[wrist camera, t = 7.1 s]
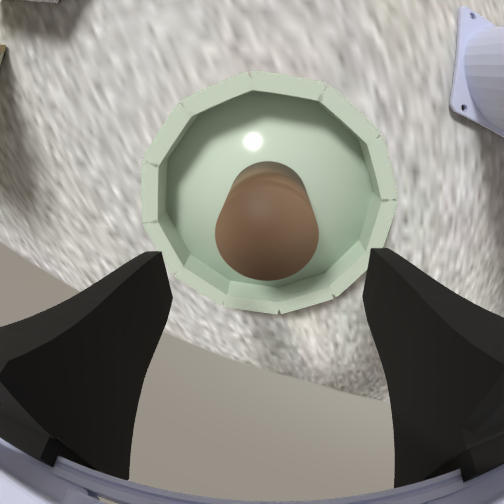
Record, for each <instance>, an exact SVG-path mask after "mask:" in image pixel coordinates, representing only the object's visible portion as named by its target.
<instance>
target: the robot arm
mask: <svg viewBox="0 0 504 504" xmlns="http://www.w3.org/2000/svg"><path fill="white" fill-rule="evenodd" d="M470 14H471V16H472V18H473V19H472V18H471V16H470ZM462 105H463V106H464V110H463V111H462V109H461V106H462ZM450 108H451V109H452V111H454V112H455V113H458V114H460V115H462V116H464V117H466V118H468V119H470V120H472V121H474V122H476V123H478V124H480V125H481V126H483V127H485V128H487V129H489V130H491V131H492V132H494V133H496V134H498V135H499V136H501V137H503V138H504V26H500V27H497V26H495V25H494V24H492V23H491V22H490V21H488V20H487V19H485V18H484V17H482V16H481V15H479V14H477V13H476V12H474V11H473V10H471V9H469V8H468V7H466V6H461V7H459V9H458V35H457V49H456V60H455V69H454V77H453V84H452V91H451V97H450ZM362 297H363V302H364V307H365V312H366V317H367V321H368V324H369V327H370V330H371V333H372V336H373V339H374V342H375V344H376V347H377V350H378V353H379V356H380V359H381V363H382V366H383V369H384V372H385V376H386V380H387V385H388V391H389V397H390V403H391V411H392V419H393V428H394V447H395V478H394V489H390V490H385V491H380V492H375V493H370V494H363V495H357V496H351V497H343V498H335V499H324V500H311V501H289V502H287V501H285V502H266V501H265V502H264V501H241V500H229V499H219V498H210V497H202V496H196V495H189V494H183V493H178V492H172V491H167V490H163V489H158V488H153V487H149V486H145V485H141V484H137V483H134V482H130V481H127V480H128V479H129V467H130V453H131V444H132V436H133V428H134V422H135V417H136V411H137V407H138V402H139V398H140V394H141V389H142V385H143V381H144V378H145V375H146V372H147V369H148V367H149V364H150V362H151V359H152V357H153V354H154V352H155V349H156V347H157V344H158V342H159V340H160V337H161V335H162V332H163V330H164V327H165V325H166V322H167V319H168V315H169V312H170V308H171V303H172V299H173V297H172V293H171V289H170V285H169V280H168V276H167V272H166V268H165V264H164V259H163V255H162V251H152V252H144V253H142V254H140V255H139V256H137V257H135V258H133V259H132V260H130V261H129V262H127V263H125V264H124V265H122V266H121V267H119V268H118V269H116V270H115V271H113V272H112V273H110V274H109V275H107V276H106V277H104V278H103V279H101V280H99V281H98V282H96V283H95V284H93V285H91V286H90V287H88V288H87V289H85V290H83V291H82V292H80V293H79V294H77V295H75V296H73V297H72V298H70V299H68V300H66V301H64V302H62V303H60V304H58V305H56V306H54V307H52V308H50V309H47V310H45V311H43V312H40V313H38V314H36V315H34V316H31V317H29V318H26V319H24V320H21V321H18V322H15V323H12V324H9V325H6V326H3V327H0V504H107V503H104V502H102V501H100V500H99V498H98V497H97V496H99V497H102V498H104V499H107V500H110V501H113V502H116V503H119V504H504V318H503V317H501V316H499V315H497V314H494V313H492V312H490V311H488V310H486V309H484V308H482V307H480V306H478V305H476V304H474V303H472V302H470V301H468V300H467V299H465V298H463V297H461V296H459V295H458V294H456V293H454V292H453V291H451V290H450V289H448V288H447V287H445V286H444V285H442V284H440V283H439V282H437V281H436V280H434V279H433V278H431V277H430V276H429V275H427V274H426V273H424V272H423V271H421V270H420V269H418V268H417V267H416V266H414V265H413V264H411V263H410V262H409V261H407V260H406V259H404V258H403V257H401V256H400V255H398V254H397V253H395V252H394V251H392V250H390V249H388V248H371V249H370V256H369V262H368V268H367V274H366V280H365V285H364V291H363V296H362Z"/></svg>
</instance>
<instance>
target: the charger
mask: <svg viewBox="0 0 504 504" xmlns="http://www.w3.org/2000/svg"><path fill="white" fill-rule="evenodd" d="M17 1H24V0H17ZM27 1H35V2H47V3H58V2H59V0H27Z"/></svg>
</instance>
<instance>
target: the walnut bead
mask: <svg viewBox="0 0 504 504" xmlns="http://www.w3.org/2000/svg"><path fill="white" fill-rule="evenodd" d="M318 240H319V229H318V224H317V221H316V218H315V215H314V212H313V209H312V206H311V203H310V200H309V197H308V194H307V191H306V188H305V186H304V183H303V181H302V179H301V178H300V177H299V175H298V174H297V173H296V172H295V171H294V170H293V169H291V168H290V167H288V166H286V165H284V164H282V163H278V162H273V161H263V162H258V163H254V164H252V165H250V166H248V167H246V168H245V169H244V170H242V171H241V172H240V173H239V174H238V176H237V177H236V178H235V180H234V182H233V184H232V186H231V189H230V191H229V193H228V195H227V198H226V200H225V202H224V205H223V207H222V209H221V212H220V214H219V217H218V219H217V222H216V227H215V241H216V245H217V248H218V251H219V253H220V255H221V257H222V258H223V259H224V261H225V262H226V263H227V264H228V265H229V266H230V267H231V268H232V269H233V270H235V271H236V272H238V273H239V274H241V275H243V276H245V277H248V278H251V279H255V280H261V281H274V280H280V279H284V278H287V277H289V276H292V275H294V274H295V273H297V272H299V271H300V270H301V269H303V268H304V267H305V266H306V265H307V264H308V263H309V261H310V260H311V259H312V257H313V255H314V253H315V251H316V249H317V245H318Z"/></svg>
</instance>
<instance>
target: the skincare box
mask: <svg viewBox="0 0 504 504" xmlns="http://www.w3.org/2000/svg"><path fill="white" fill-rule="evenodd" d="M5 49H6V45H2V44H0V66H1V62H2V59H3V55H4V52H5Z"/></svg>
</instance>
